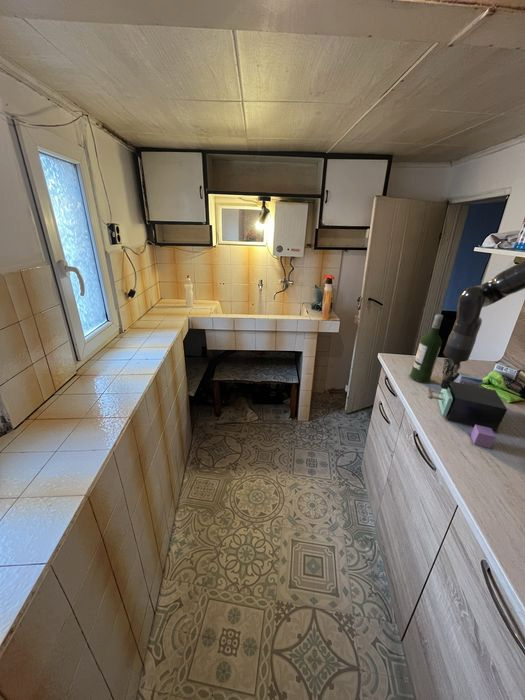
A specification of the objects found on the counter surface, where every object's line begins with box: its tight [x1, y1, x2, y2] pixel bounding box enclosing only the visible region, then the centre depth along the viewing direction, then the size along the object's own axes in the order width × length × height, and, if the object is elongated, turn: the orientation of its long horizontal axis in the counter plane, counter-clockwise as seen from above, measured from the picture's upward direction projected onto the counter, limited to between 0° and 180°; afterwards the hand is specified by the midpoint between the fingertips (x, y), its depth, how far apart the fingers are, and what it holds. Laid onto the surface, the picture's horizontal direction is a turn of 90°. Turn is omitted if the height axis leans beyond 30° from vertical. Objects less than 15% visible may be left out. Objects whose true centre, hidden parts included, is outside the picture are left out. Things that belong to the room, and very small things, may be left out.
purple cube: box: [470, 424, 497, 449], centre depth 90 cm, size 4×4×4 cm
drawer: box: [426, 387, 455, 418], centre depth 103 cm, size 19×11×8 cm, turn 67°
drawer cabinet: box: [445, 381, 508, 433], centre depth 101 cm, size 15×13×10 cm
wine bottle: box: [409, 313, 444, 384], centre depth 121 cm, size 8×8×30 cm
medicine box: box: [454, 371, 484, 388], centre depth 115 cm, size 8×4×9 cm, turn 72°
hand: (443, 387), depth 103 cm, fingers closed
